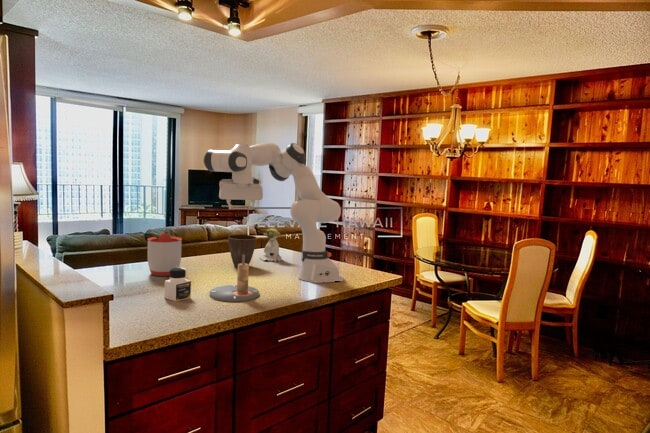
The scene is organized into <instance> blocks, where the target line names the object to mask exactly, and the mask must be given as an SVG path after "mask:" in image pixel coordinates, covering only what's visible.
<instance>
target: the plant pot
mask: <svg viewBox="0 0 650 433" xmlns="http://www.w3.org/2000/svg"><path fill="white" fill-rule="evenodd" d="M227 239H228V246H229V253H230V257H231V260H232V263H233V266H234V267H235V268H237V269H238V264H241V263H242V255H245V263H246V264H249V265H250V263H251V260H252V258H253V255H254V252H255V248H256V243H257V240H258V237H257V236H255V235H249V234H232V235H228V237H227Z"/></svg>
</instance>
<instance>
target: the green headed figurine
mask: <svg viewBox="0 0 650 433" xmlns="http://www.w3.org/2000/svg"><path fill="white" fill-rule="evenodd" d="M263 235H264V236H265V237H267V239H268V242H267V243H266V245H265V247H264V249H263V253H265V254H264V255H260V256H259V259H262V262H263V261H266V260H267V261H268V262H270V261H271V262H273V261H274V262H275V263H277V262H280V261H281V260H282V256H281V255H280V244H279V242H278V240H277V238H279V237H280V236H281V235H282V234H281V233H280V232H279V231H278V230H277V229H276V228H271V227H270V228H268V229H267V228H266V230H265V232H263Z"/></svg>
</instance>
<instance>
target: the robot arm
mask: <svg viewBox="0 0 650 433" xmlns="http://www.w3.org/2000/svg"><path fill="white" fill-rule="evenodd" d="M206 151H207V152H206V153H205V154H204V157H203V164H204V167H205V168H206V169H207V170H208V172H214V173H215V172H221V173H222V172H224V173H231V175H232V176H231V179H230V178H228V179H226V178H225V179H224V178H222V179H221V180H220V181H219V183H218V185H219V193H218V198H219V199H220V200H226V204H227V205H228V210H233V209H234V205H232V204H231V201H232V200H235V201H236V200H239V201H240V200H241V201H243V200H244V201H250V202H251V203H250V205H248V210H251V211H252V210H253V206H254V205H255V203H256V201H262V200H263V198H264V193H263V186H262V185H261V184H262V180H261V179H259V178H256V177H254V176H252V166H255V167H256V166H257V167H264V166H267V165H268V169H269V172H270V175H271V176H272V177H273V179H275V180H277V181H279V182H285V181H286V180H288V179H289V178H290V176H293V182H294V186H295V189H296V191H297V195H298V197H299V200H295V201H294V202H292V204H291V206H290V210H289V211H290V216H291V218H292V219H293V220H294V221H295V222H296V223H297V224H298V226H299V227H300V229H301V232H302V249H301V257H300V258H301V259H300V260H301V265H300V269H299V273H298V276H297V278H298V279H299V280H302V281H305V282H310V283H315V284H320V283H321V284H322V283H323V282H324V283H336V282H335V281H340V282H343V281H344V276H343V275H342V274H340V269H339V266H338V265H337V264H336V263H335V262H333V260H332V259H330V257H332V253H331V252H329V251H328V250H326V244H327V243H326V242H327V237H326V234H325V232H324V231H322V230H321V229H319V228H318V227H317V223H329V222H330V223H331V222H334V221H338V219H339V218H340V217H341V215H342V209H341V205H340V204H339V202H337V201H335V200H333V199H331V197H329V196H327V195H326V194H325V193H324V192H323V191H322V190H321V188H320V186H319V184H318V181H317V178H316V176H315V174H314V173H313V171H312V169H310V167H309V166H307V165H305V164H306V163H307V158H306V152H305V150H304V148H303V147H302V146H301V145H299V144H297V143H294V142H292V143H290V144H288V145H287V146H286V147H285V148H284V149H283V150H282V151H281V148H280V146H279V145H278V144H276V143H273V142H260V143H257V144H253V145H247V144H244V143H235V145H234V147H233V148H230V149H229V150H227V149H212V148H210V149H208V150H206Z"/></svg>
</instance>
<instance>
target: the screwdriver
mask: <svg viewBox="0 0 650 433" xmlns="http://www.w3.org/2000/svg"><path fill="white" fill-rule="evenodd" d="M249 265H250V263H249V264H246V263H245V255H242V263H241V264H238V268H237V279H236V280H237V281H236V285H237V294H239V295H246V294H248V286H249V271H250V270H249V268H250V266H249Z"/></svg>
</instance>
